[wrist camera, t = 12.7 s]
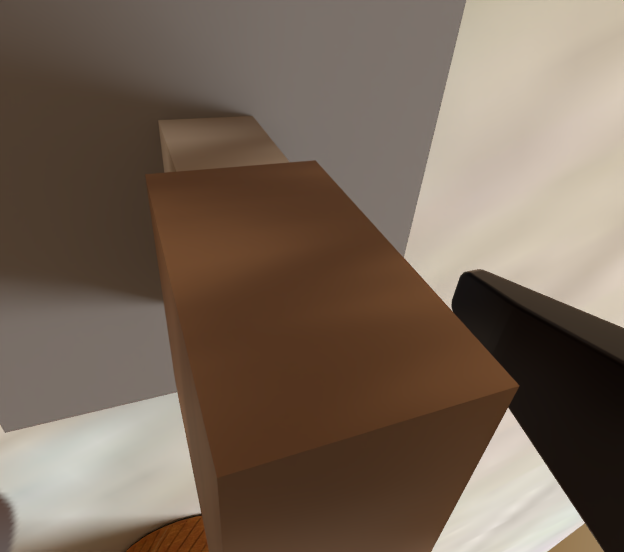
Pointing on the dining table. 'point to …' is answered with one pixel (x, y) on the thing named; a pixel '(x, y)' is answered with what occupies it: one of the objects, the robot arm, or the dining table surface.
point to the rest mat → (148, 158)
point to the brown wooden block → (309, 355)
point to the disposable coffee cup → (175, 538)
